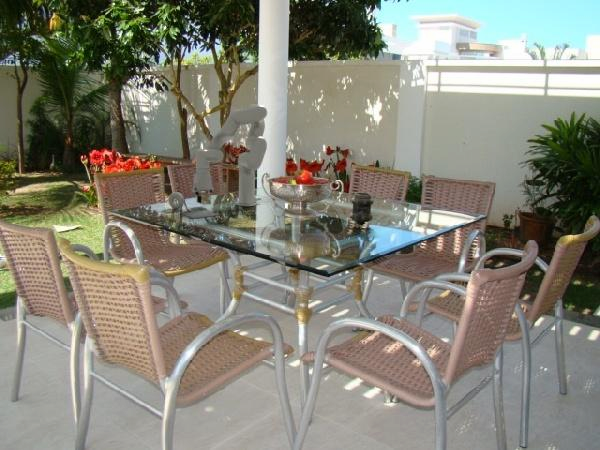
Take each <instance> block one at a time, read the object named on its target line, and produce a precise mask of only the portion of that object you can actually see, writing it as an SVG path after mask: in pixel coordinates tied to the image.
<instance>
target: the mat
mask: <svg viewBox="0 0 600 450" xmlns="http://www.w3.org/2000/svg"><path fill="white" fill-rule="evenodd" d="M180 215H182V216H184V217H187V218H189V219H192V220H196V219H203V218H212V217H219V216H220V214H218V213H216V212H213V211H210V210H208V209H204V210H202V209H201V210H196V211H195V210H194V211H185V212H180Z"/></svg>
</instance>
